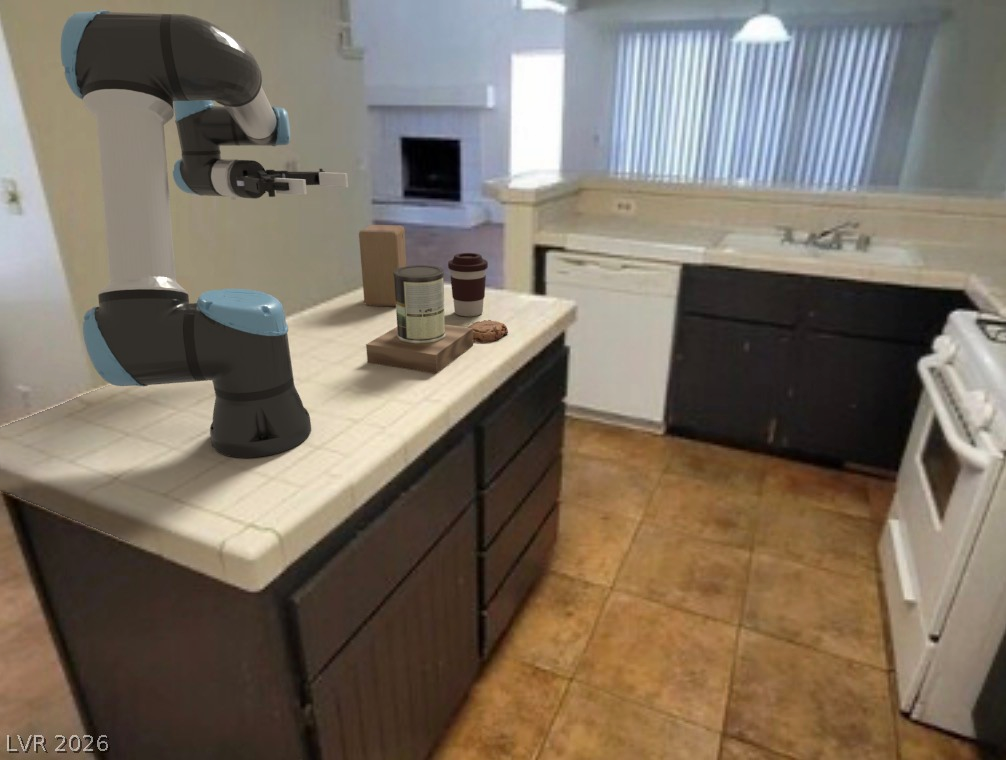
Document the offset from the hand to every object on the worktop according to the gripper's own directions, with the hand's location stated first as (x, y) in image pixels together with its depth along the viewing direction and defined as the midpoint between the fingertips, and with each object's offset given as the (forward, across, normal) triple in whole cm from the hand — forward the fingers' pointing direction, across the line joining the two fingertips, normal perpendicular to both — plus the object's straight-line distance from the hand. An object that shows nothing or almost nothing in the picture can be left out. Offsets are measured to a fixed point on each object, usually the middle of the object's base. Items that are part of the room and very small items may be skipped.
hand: (327, 183), depth 126 cm
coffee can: (+17, -5, -31) cm, 36 cm away
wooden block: (-11, -37, -35) cm, 52 cm away
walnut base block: (+17, -5, -35) cm, 39 cm away
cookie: (+25, -22, -36) cm, 49 cm away
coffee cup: (+14, -36, -35) cm, 52 cm away
